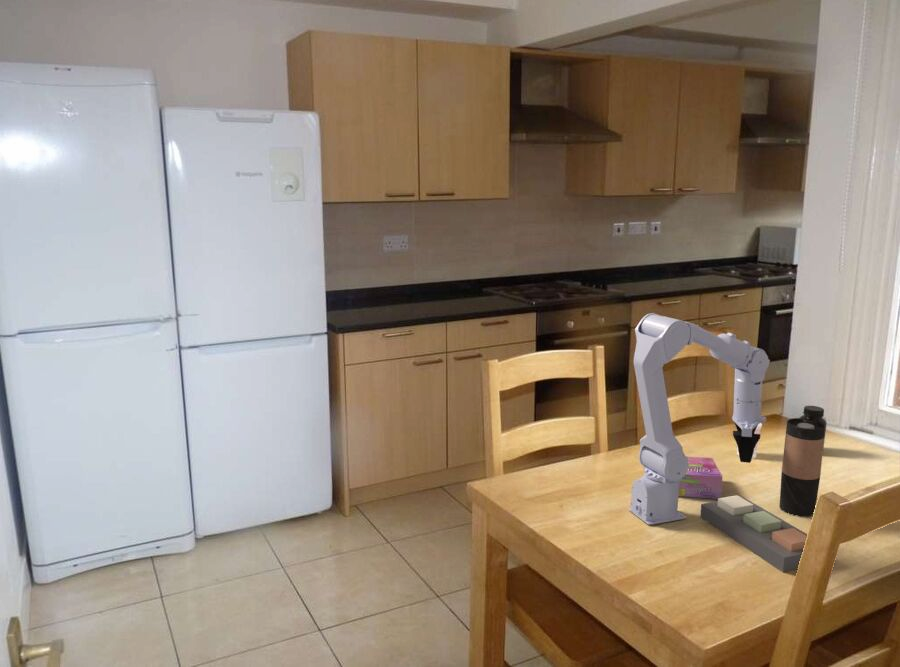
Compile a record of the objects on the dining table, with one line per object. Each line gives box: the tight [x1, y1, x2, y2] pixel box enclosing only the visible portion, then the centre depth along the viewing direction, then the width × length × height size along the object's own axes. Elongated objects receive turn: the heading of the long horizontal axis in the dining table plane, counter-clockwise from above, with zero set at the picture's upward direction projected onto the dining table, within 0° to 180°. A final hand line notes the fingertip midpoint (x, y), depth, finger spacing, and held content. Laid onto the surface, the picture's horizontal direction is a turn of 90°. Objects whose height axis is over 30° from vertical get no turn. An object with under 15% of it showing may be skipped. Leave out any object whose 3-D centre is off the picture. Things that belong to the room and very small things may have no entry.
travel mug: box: [779, 417, 826, 517], centre depth 160 cm, size 8×8×20 cm
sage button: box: [743, 511, 782, 533], centre depth 149 cm, size 5×5×2 cm
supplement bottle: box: [799, 405, 828, 449], centre depth 196 cm, size 7×7×12 cm
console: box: [700, 496, 807, 573], centre depth 149 cm, size 11×24×3 cm, turn 19°
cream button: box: [717, 494, 753, 516], centre depth 156 cm, size 5×5×2 cm
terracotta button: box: [772, 528, 807, 552], centre depth 141 cm, size 5×5×2 cm
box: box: [678, 455, 723, 500], centre depth 173 cm, size 10×6×12 cm
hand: (745, 455), depth 167 cm, fingers open, 7 cm apart
